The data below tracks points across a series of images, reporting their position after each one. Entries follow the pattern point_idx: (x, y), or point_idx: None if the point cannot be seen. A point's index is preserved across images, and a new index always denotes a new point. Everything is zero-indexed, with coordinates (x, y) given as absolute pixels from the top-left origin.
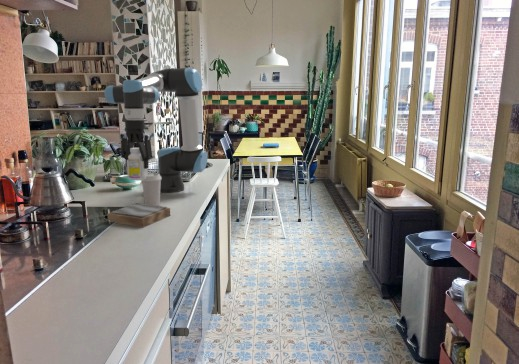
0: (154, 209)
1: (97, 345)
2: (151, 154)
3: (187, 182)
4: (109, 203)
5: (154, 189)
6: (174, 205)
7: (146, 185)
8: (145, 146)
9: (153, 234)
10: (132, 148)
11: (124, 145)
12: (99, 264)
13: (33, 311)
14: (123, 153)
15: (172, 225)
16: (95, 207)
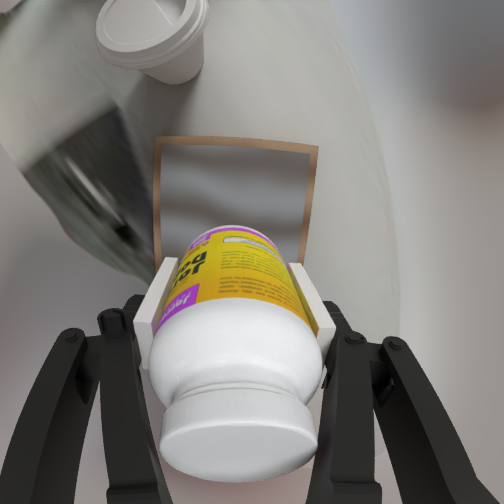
0: (285, 200)
1: (375, 453)
2: (414, 370)
3: None
4: (36, 113)
5: (192, 54)
6: (251, 28)
7: (153, 67)
8: (401, 470)
9: (341, 310)
10: (209, 471)
11: (71, 463)
12: (315, 418)
13: (313, 462)
14: (93, 401)
15: (359, 236)
16: (32, 169)
